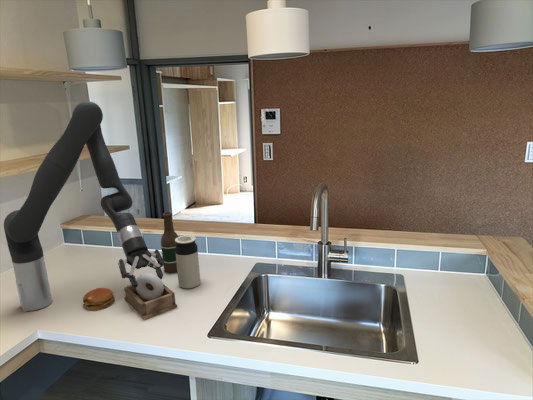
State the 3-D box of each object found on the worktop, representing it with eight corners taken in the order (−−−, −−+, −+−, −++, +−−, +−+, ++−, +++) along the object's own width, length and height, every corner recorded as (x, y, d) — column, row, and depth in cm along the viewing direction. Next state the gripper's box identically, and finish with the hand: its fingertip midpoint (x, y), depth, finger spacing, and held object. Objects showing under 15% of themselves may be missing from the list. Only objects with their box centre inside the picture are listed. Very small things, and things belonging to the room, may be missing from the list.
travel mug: (185, 291, 146) (180, 244, 142) (174, 283, 152) (170, 238, 147) (204, 284, 151) (200, 238, 146) (193, 277, 157) (189, 233, 152)
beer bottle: (185, 265, 168) (180, 209, 161) (179, 274, 160) (173, 215, 154) (166, 265, 169) (161, 209, 162) (160, 273, 161) (153, 215, 155)
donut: (135, 301, 138) (131, 274, 136) (140, 296, 141) (137, 270, 139) (162, 304, 136) (159, 276, 133) (166, 299, 139) (164, 272, 137)
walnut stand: (143, 320, 129) (142, 305, 127) (124, 299, 142) (122, 286, 140) (177, 307, 135) (176, 293, 134) (156, 289, 149) (154, 276, 147)
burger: (118, 296, 144) (116, 284, 143) (108, 310, 135) (106, 298, 134) (91, 297, 145) (89, 285, 143) (79, 311, 136) (76, 299, 134)
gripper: (113, 241, 134) (129, 284, 128) (154, 231, 143) (171, 271, 137) (110, 251, 140) (126, 294, 134) (149, 241, 148) (166, 280, 142)
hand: (149, 282), depth 135 cm, fingers open, 8 cm apart
